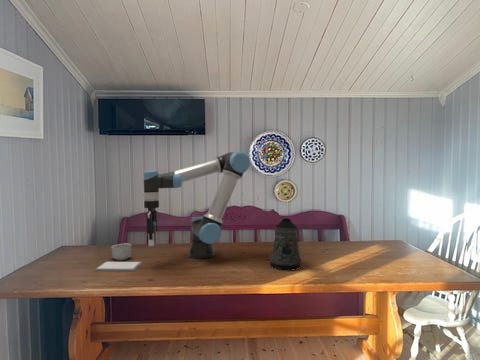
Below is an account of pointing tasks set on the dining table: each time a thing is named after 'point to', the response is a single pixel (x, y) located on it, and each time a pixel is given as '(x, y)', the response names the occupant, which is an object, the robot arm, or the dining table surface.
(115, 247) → the teacup
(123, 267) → the small whiteboard
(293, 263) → the beer stein
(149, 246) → the marker
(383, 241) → the dining table surface
